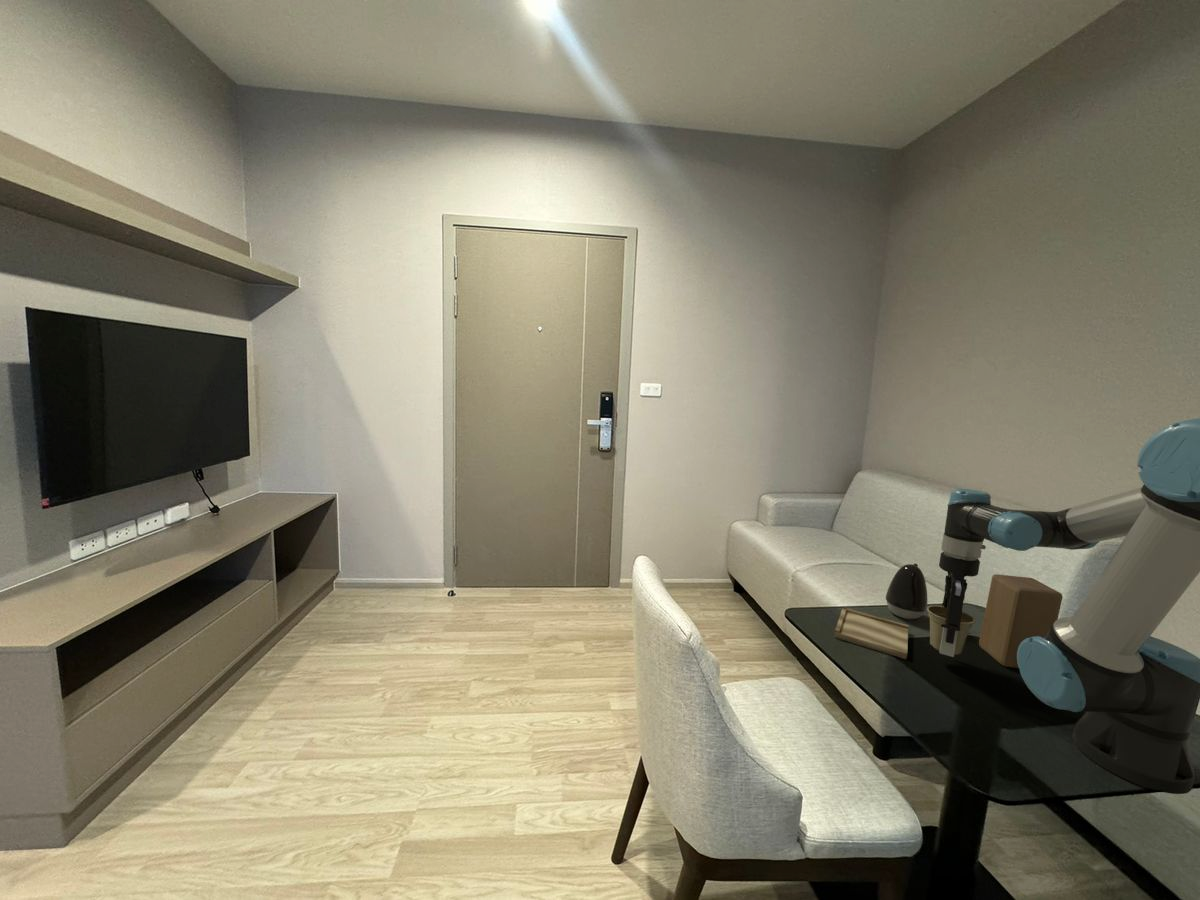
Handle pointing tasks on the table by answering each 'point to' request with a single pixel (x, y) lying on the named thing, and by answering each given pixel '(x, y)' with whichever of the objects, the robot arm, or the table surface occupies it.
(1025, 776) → the table surface
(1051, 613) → the wooden block
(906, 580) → the black egg-shaped piece
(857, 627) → the board
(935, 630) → the flower pot
